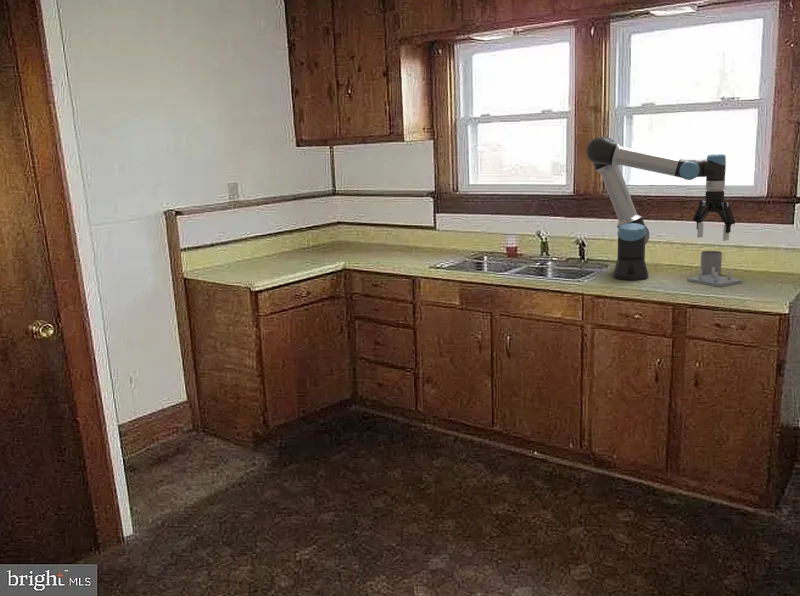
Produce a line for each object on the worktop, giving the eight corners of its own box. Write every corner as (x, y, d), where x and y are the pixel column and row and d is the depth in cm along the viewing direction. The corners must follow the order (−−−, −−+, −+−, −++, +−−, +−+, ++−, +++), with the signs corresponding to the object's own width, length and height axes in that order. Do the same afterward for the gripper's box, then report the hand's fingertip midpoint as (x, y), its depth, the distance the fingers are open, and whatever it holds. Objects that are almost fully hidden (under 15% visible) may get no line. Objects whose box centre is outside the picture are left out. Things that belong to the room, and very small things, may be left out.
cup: (710, 276, 311) (712, 254, 309) (696, 274, 319) (697, 252, 317) (724, 274, 315) (726, 252, 312) (710, 271, 322) (711, 250, 320)
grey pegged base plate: (687, 281, 305) (687, 269, 304) (710, 277, 311) (710, 265, 310) (718, 287, 291) (719, 274, 290) (741, 282, 297) (742, 270, 296)
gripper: (685, 189, 318) (684, 236, 322) (733, 192, 296) (731, 242, 301) (697, 188, 321) (695, 235, 326) (745, 190, 299) (743, 240, 304)
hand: (712, 238), depth 313 cm, fingers open, 13 cm apart
